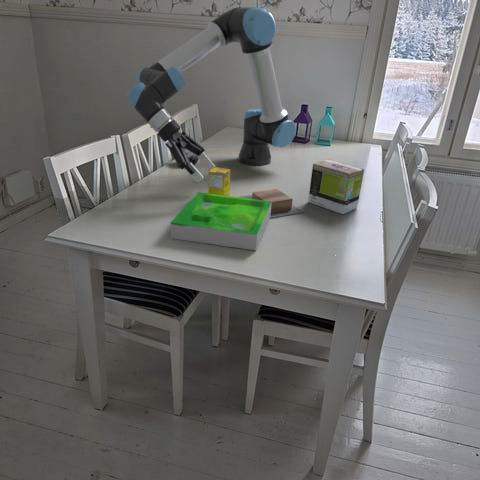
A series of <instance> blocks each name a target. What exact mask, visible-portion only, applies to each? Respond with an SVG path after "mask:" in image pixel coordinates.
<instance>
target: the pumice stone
mask: <svg viewBox="0 0 480 480" xmlns="http://www.w3.org/2000/svg"><path fill="white" fill-rule="evenodd" d="M184 151H185V153H186V156H187V158H188V161H189V164H190V163H192V164H193V165H195V164H197V163H198V162H199V161H200V160H199V159H198V156H197V155H196V154H194V153H192V152H191V151H189V150H187V149H186V148H185V149H184Z"/></svg>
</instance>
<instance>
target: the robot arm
mask: <svg viewBox="0 0 480 480" xmlns="http://www.w3.org/2000/svg"><path fill="white" fill-rule="evenodd" d="M276 27H277V26H276V21H275V18H274V16H273V15H272V13H271V12H270V11H269V10H267V9H265V8H261V7H258V6H251V7H248V6H247V7H233V8H231V9H229V10H227V11H225V12H224V13H222V14H221V15H219V16H217V17H216V18H215V19H213V20H212V21H210V22H208V25H207V28H205V29H204V30H203V31H201V32H200V33H198V34H197V35H195V36H194V37H192V38H191V39H190V40H189V39H188V41H186V42H185V43H183V44H182V45H180V46H179V47H177V48H176V49H175V50H173V51H171V52H170V53H169V54H167V55H166V56H165V57H163V58H161V59H160V60H158V61H157V62H155V63H154V64H152V65H151V66H149V67H147V66H146V67H142V68H140V69H139V70H138V71H137V73H136V78H135V79H136V83H137V84H135V85H133V86H132V87H131V88H130V90H129V91H128V92H127V93H126V99H127V101H128V102H129V103H130V104H131V106H132V107H133V108H134V110H136V111H137V112H138V114H139V115H140V117H142V118H143V119H144V120H145V121H146V123H148V125H149V128H151V129H152V130H153V131H154V132H156V133H157V135H158V136H159V138H160V139H161V140H162V142H166V143H165V146H166V147H167V148H168V150H169V151H170V153H171V155H172V157H173V159H174V160H175V163H176V164H177V166H178V167H179V168H180V170H184V169H185V170H186V172H187V173H189V175H190V176H191V177H192V178H193V179H194V180H195V181H196V183H200V182H201V181H202V180H203V179H204V176H203V175H202V173H201V172H200V171H199V170H198V169H197V168H196V166H195V164H192V163H190V164H189V161H188V158H187V156H186V153H185V151H184V149H185V148H186V149H187V150H189V151H191V152H192V153H194V154H196V155H197V156H198V159H199V160H198V161H200V162H201V163H202V164H203V165H204V167H205V168H206V169H207V170H208V172H209V171H210V170H212V169H213V168H214V167H216V165H215V164H214V163H213V161H211V159H210V157H208V156H207V155H206V153H205V150H206V149H205V148H204V147H203V146H202V145H201V144H199V143H198V142H197V141H196V140H194V139H193V138H192V137H191V136H189V135H188V134H187V133H186V131H184V130H183V131H182V132H180V130H181V126H180V124H179V123H178V122H177V121H176V120H175V119H173V116H172V115H171V114H170V112H169V111H168V110H167V109H166V108H165V107H164V106H163V104H165V103H166V102H167V101H168V100H169V99H170V98H172V97H174V95H176V94H177V93H178V92H180V90H181V89H183V87H185V86H186V79H185V77H184V75H183V72H184V71H186V70H187V69H189V68H190V67H192V66H193V65H195V64H196V63H198V62H199V61H200V60H202V59H204V58H205V57H206V56H207V55H210V53H212V52H213V51H215V50H216V49H217V48H221V49H222V48H224V47H226V46H227V45H229V44H232V43H240V47H241V52H242V54H244V55H245V56H247V58H248V63H249V66H250V70H251V75H252V79H253V82H254V83H253V84H254V87H255V90H256V96H257V99H258V104H259V107H260V109H259V108H257V109H254V108H253V109H248V110H246V111H245V112H244V117H243V138H242V139H243V140H242V141H243V142H242V145H241V148H240V150H239V153H238V161H239V162H240V163H242V164H245V165H248V166H249V165H250V166H265V165H269V164H270V163H271V162H272V154H271V151H270V146H269V145H272V146H274V147H278V148H286V147H288V146H289V145H290V144H291V143H292V141H294V138H295V137H296V133H297V127H296V123H295V122H293V120H291V119H289V115H288V110H286V109H285V108H284V107H283V105H282V100H281V95H280V90H279V87H278V82H277V76H276V72H275V67H274V63H273V58H272V53H271V48H272V47H273V43H274V42H273V40H274V37H275V33H276V29H277V28H276Z"/></svg>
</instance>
